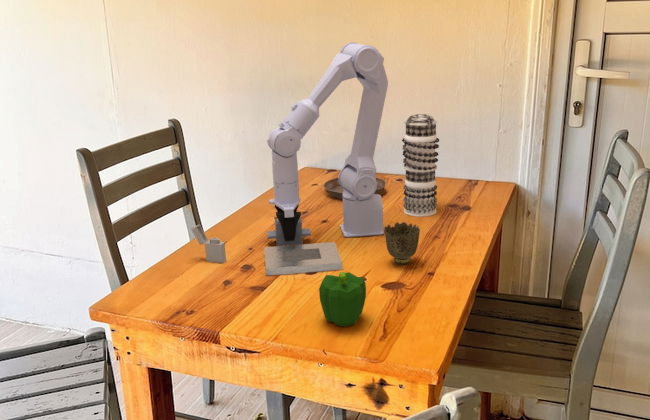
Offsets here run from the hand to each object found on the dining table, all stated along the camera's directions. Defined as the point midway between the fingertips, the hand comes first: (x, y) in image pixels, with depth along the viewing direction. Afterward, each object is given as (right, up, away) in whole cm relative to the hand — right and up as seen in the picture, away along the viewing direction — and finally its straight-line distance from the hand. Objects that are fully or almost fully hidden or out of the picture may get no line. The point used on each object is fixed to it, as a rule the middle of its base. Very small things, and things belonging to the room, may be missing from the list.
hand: (289, 236), depth 158 cm
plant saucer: (+17, +11, +36) cm, 41 cm away
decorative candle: (+33, +6, +18) cm, 38 cm away
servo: (0, -1, 0) cm, 2 cm away
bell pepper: (+12, -14, -37) cm, 41 cm away
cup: (+25, -5, -13) cm, 29 cm away
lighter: (-17, -5, -8) cm, 19 cm away
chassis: (+3, -5, -11) cm, 12 cm away
